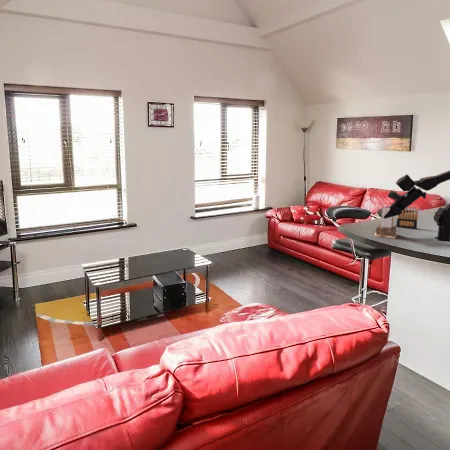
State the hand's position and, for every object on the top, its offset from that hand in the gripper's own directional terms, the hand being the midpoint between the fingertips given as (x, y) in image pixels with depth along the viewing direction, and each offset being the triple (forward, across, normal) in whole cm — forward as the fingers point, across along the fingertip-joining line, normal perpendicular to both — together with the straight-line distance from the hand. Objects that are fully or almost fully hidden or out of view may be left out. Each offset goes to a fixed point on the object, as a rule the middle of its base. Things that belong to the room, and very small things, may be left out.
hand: (384, 217), depth 222 cm
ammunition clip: (+1, -26, +13) cm, 29 cm away
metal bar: (+4, 0, +6) cm, 7 cm away
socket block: (+6, 0, +8) cm, 10 cm away
